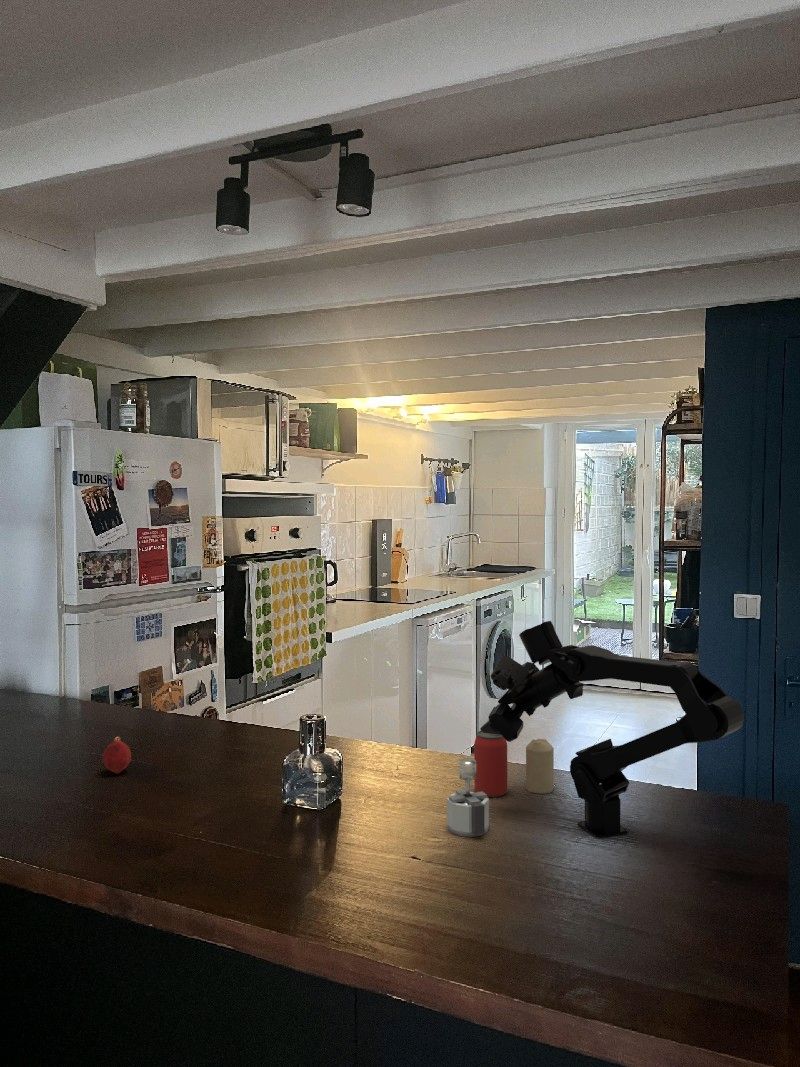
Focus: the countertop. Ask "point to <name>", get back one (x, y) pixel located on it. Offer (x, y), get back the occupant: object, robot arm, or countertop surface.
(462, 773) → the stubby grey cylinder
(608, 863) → the countertop surface
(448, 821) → the grey faceted drum
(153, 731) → the countertop surface
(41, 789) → the countertop surface
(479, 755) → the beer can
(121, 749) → the onion
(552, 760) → the candle
